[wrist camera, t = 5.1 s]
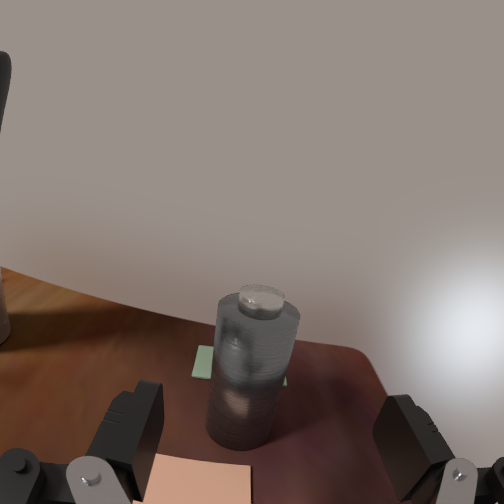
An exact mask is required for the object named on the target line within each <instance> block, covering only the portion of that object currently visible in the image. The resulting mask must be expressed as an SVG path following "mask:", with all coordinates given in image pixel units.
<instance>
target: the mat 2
mask: <svg viewBox="0 0 504 504" xmlns="http://www.w3.org/2000/svg"><path fill="white" fill-rule="evenodd" d="M213 348H214V347H210V346H202V345H199V348H198V352H197V356H196V360H195V364H194V368H193V372H192V377H196V378H203V379H210V378H211V368H212V358H213ZM283 386H287V381H286V377H285V381H284V384H283Z"/></svg>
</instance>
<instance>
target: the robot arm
mask: <svg viewBox="0 0 504 504" xmlns="http://www.w3.org/2000/svg"><path fill="white" fill-rule="evenodd" d="M10 79H11V59H10V57H9V55H8V54H7V53H6V52H3V51H0V130H1V125H2V119H3V114H4V109H5V104H6V100H7V95H8V90H9V85H10ZM10 330H11V327H10V322H9V317H8V313H7V308H6V302H5V296H4V290H3V284H2V278H1V270H0V344H1V343H2V342H4V341H5V340H6V339H7V337H8V336H9V334H10ZM163 425H164V401H163V386H162V384H161V383H156V382H151V381H146V380H140V381H139V382H138V384H137V386H136V389H135V391H134V393H132V392H127V391H123V392H122V393H120V394H119V395H118V396H117V397H115V398H114V399H113V401H112V403H111V405H110V407H109V409H108V412H106V414H105V416H104V420H103V421H102V422H101V424H100V426H99V429H98V431H97V433H96V435H95V437H94V439H93V441H92V443H91V445H90V447H89V449H88V451H87V453H86V454H85V456H83V457H79V458H77V459H75V460H73V461H72V462H71V463H70V464H53V463H44V462H39V461H38V459H37V458H36V456H35V455H34V454H33V453H31V452H30V451H28V450H25V449H21V448H15V449H11V450H8V451H6V452H5V453H4V454H3V455H2V456H1V457H0V504H133V500H135V501H139V502H143V500H144V496H145V492H146V489H147V485H148V481H149V477H150V474H151V470H152V466H153V463H154V459H155V455H156V452H157V448H158V444H159V441H160V437H161V434H162V430H163ZM373 438H374V441H375V443H376V445H377V448H378V450H379V453H380V455H381V458H382V460H383V462H384V465H385V467H386V470H387V472H388V475H389V477H390V480H391V482H392V485H393V487H394V490H395V492H396V495H397V498H398V500H399V502H403V501H407V500H411V501H412V503H413V504H495V503H496V502H498V504H504V457H501V458H499V459H498V460H497V461H496V462H495V463H494V464H493V466H492V467H489V468H476V467H475V466H474V464H473V463H471V462H470V461H468V460H466V459H463V458H455V456H454V455H453V453H452V451H451V450H450V448H449V446H448V445H447V443H446V441H445V440H444V438H443V437H442V435H441V433H440V432H438V429H437V427H436V425H434V422H433V421H432V420H431V418H430V416H429V415H428V413H427V412H425V411H424V410H423V409H422V408H420V407H419V406H416V405H415V404H414V402H413V400H412V399H411V397H410V396H409V395H407V394H406V395H393V396H388V397H387V399H386V400H385V403H384V405H383V407H382V409H381V411H380V413H379V415H378V417H377V419H376V421H375V424H374V427H373Z"/></svg>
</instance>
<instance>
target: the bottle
mask: <svg viewBox="0 0 504 504" xmlns="http://www.w3.org/2000/svg"><path fill="white" fill-rule="evenodd" d="M299 320H300V314H299V312H298V310H297V309H296V308H295V307H294V306H293V305H291V304H290V303H288V302H286V301H284V294H283V293H282V292H280V291H279V290H277V289H275V288H272V287H269V286H264V285H246V286H243V287H242V288H241V289H240V292H239V293H235V294H231V295H228V296H225V297H224V298H222V299H221V300H220V302H219V304H218V311H217V320H216V329H215V338H214V348H213V358H212V368H211V378H210V388H209V399H208V410H207V421H206V428H207V432H208V434H209V436H210V437H211V438H212V439H213V440H214V441H215V442H216V443H217V444H219V445H221V446H223V447H225V448H228V449H231V450H237V451H245V450H251V449H255V448H257V447H259V446H261V445H262V444H263V443H265V441H266V440H267V439H268V437H269V434H270V430H271V427H272V424H273V420H274V417H275V413H276V410H277V406H278V403H279V399H280V395H281V392H282V388H283V384H284V381H285V377H286V373H287V369H288V365H289V361H290V357H291V353H292V349H293V345H294V341H295V337H296V333H297V329H298V325H299Z"/></svg>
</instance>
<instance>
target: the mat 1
mask: <svg viewBox="0 0 504 504" xmlns="http://www.w3.org/2000/svg"><path fill="white" fill-rule="evenodd" d="M133 504H251V483H250V466H246V465H232V464H222V463H212V462H204V461H197V460H190V459H183V458H177V457H172V456H166V455H161V454H156V455H155V459H154V463H153V466H152V470H151V474H150V477H149V481H148V485H147V489H146V492H145V496H144V500H143V502H139V501H135V500H133Z"/></svg>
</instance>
